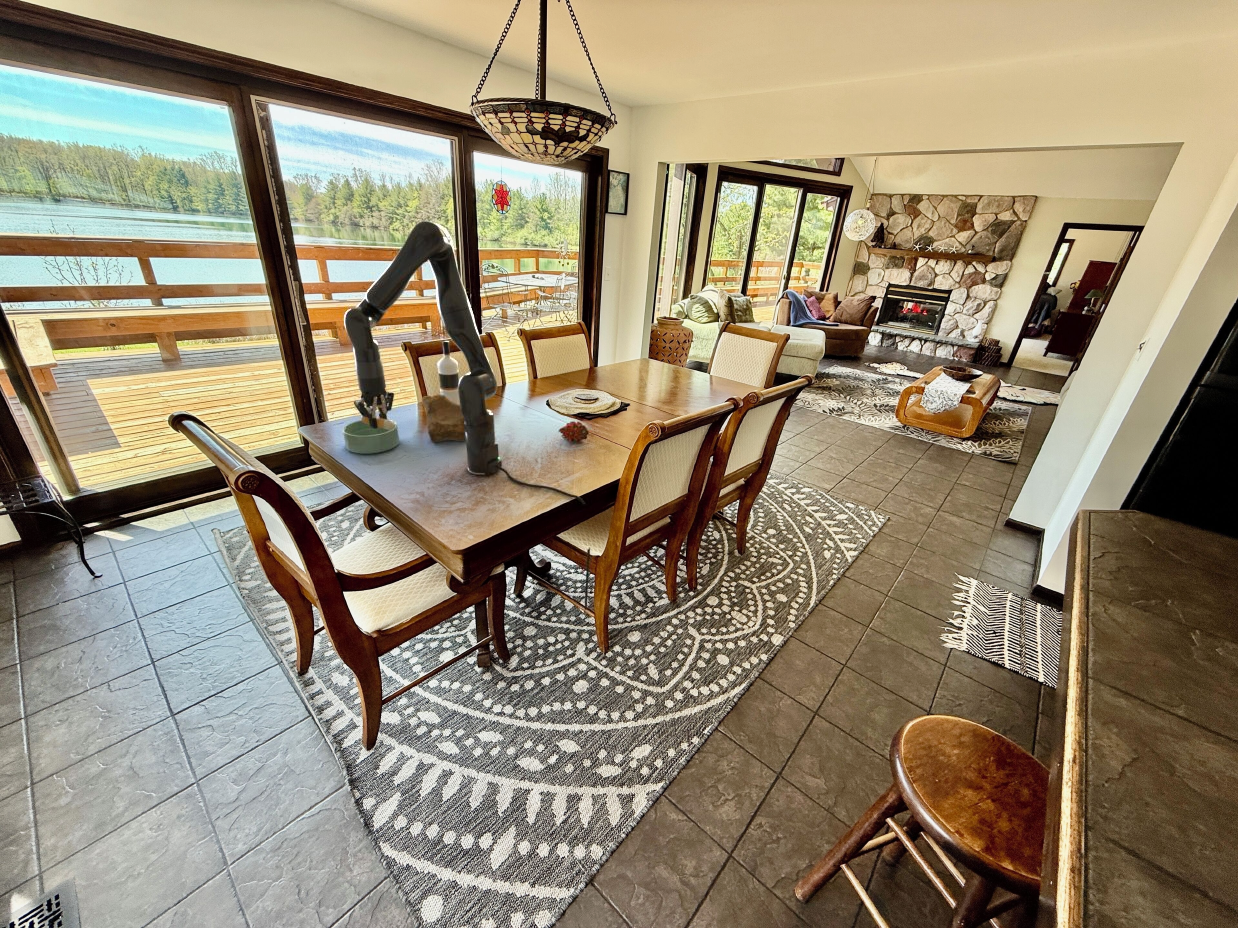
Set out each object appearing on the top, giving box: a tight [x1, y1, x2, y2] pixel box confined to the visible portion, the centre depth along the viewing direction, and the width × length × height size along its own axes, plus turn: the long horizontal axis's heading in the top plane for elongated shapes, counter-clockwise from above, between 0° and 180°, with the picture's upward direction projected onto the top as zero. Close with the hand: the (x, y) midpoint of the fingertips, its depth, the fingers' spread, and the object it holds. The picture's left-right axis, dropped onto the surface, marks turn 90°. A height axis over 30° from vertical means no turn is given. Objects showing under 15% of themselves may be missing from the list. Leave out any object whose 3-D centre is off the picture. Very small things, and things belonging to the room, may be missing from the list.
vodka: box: [436, 340, 460, 405], centre depth 203 cm, size 9×9×30 cm
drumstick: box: [360, 414, 395, 430], centre depth 154 cm, size 12×5×5 cm, turn 66°
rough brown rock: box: [421, 394, 466, 443], centre depth 179 cm, size 23×17×15 cm
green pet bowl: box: [342, 418, 400, 455], centre depth 171 cm, size 17×17×7 cm
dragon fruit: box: [558, 421, 589, 444], centre depth 186 cm, size 8×8×12 cm
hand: (379, 426), depth 155 cm, fingers closed on drumstick, 3 cm apart
